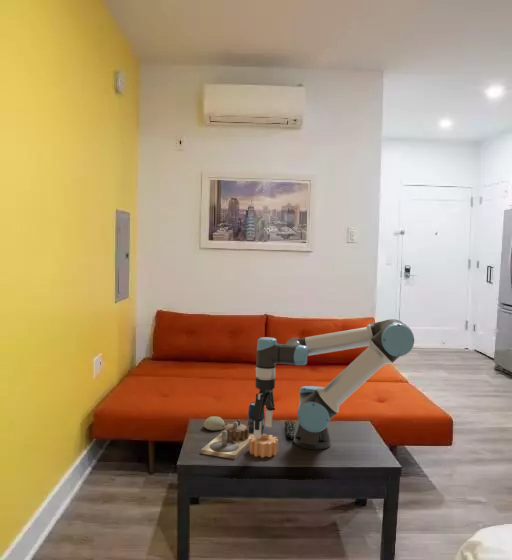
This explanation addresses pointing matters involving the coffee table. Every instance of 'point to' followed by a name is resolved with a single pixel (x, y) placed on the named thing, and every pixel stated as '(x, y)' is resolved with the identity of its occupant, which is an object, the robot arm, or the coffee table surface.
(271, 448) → the loose gear
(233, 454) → the gear board
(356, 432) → the coffee table surface
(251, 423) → the soda can
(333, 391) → the robot arm
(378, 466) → the coffee table surface
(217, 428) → the sea urchin shell
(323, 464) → the coffee table surface
